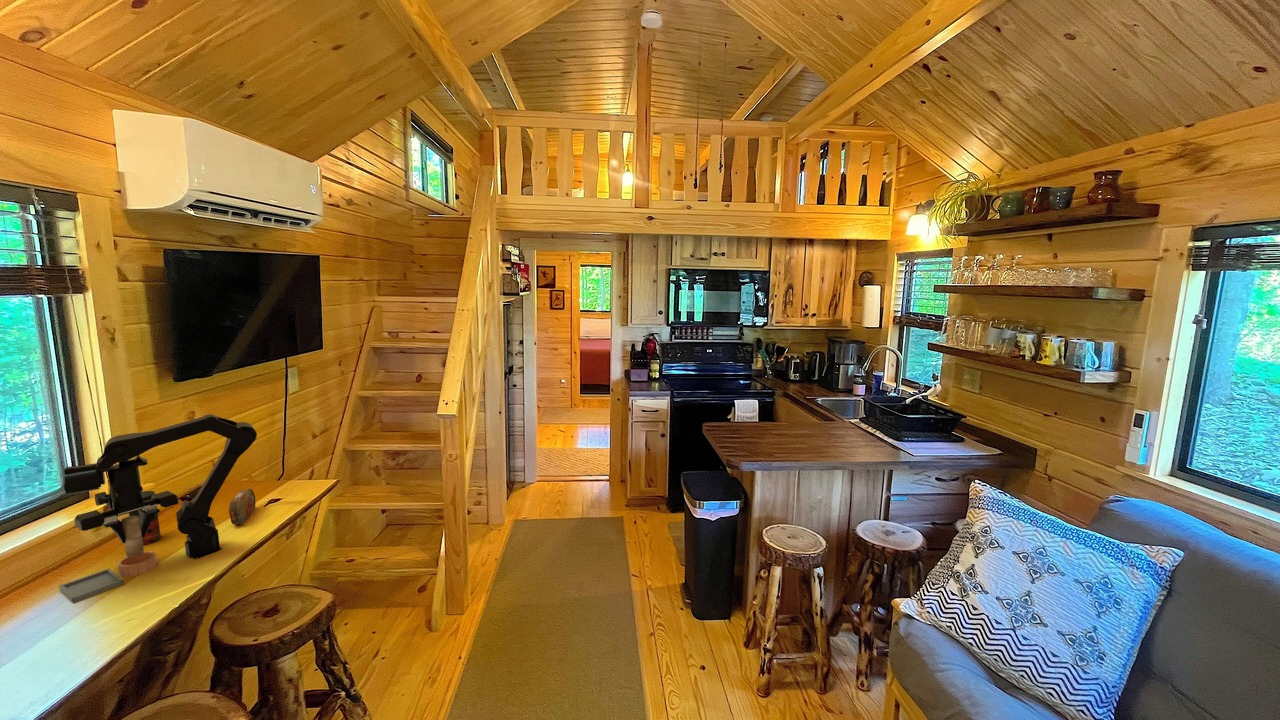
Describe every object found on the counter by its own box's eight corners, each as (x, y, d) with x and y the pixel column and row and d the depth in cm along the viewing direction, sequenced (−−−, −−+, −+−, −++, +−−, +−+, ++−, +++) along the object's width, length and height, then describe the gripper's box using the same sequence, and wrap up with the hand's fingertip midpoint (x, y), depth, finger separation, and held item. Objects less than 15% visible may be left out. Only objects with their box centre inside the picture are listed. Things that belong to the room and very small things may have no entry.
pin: (141, 548, 139) (136, 514, 137) (146, 552, 137) (141, 517, 135) (124, 554, 136) (118, 519, 134) (129, 558, 134) (123, 522, 132)
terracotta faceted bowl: (150, 560, 142) (149, 549, 141) (161, 568, 139) (159, 556, 138) (115, 573, 136) (113, 561, 135) (125, 581, 132) (123, 569, 132)
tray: (110, 574, 135) (109, 568, 135) (124, 586, 130) (123, 579, 130) (60, 592, 127) (58, 585, 127) (73, 605, 123) (72, 598, 122)
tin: (240, 528, 161) (238, 503, 160) (228, 529, 160) (225, 504, 159) (257, 508, 175) (254, 484, 174) (246, 509, 174) (243, 485, 173)
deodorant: (132, 550, 147) (125, 501, 145) (134, 541, 152) (127, 494, 149) (160, 543, 151) (153, 495, 149) (162, 535, 156) (155, 489, 153)
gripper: (159, 467, 145) (165, 518, 148) (62, 489, 129) (72, 547, 132) (176, 475, 140) (182, 528, 142) (77, 499, 124) (87, 559, 126)
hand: (133, 539), depth 136 cm, fingers closed on pin, 3 cm apart
